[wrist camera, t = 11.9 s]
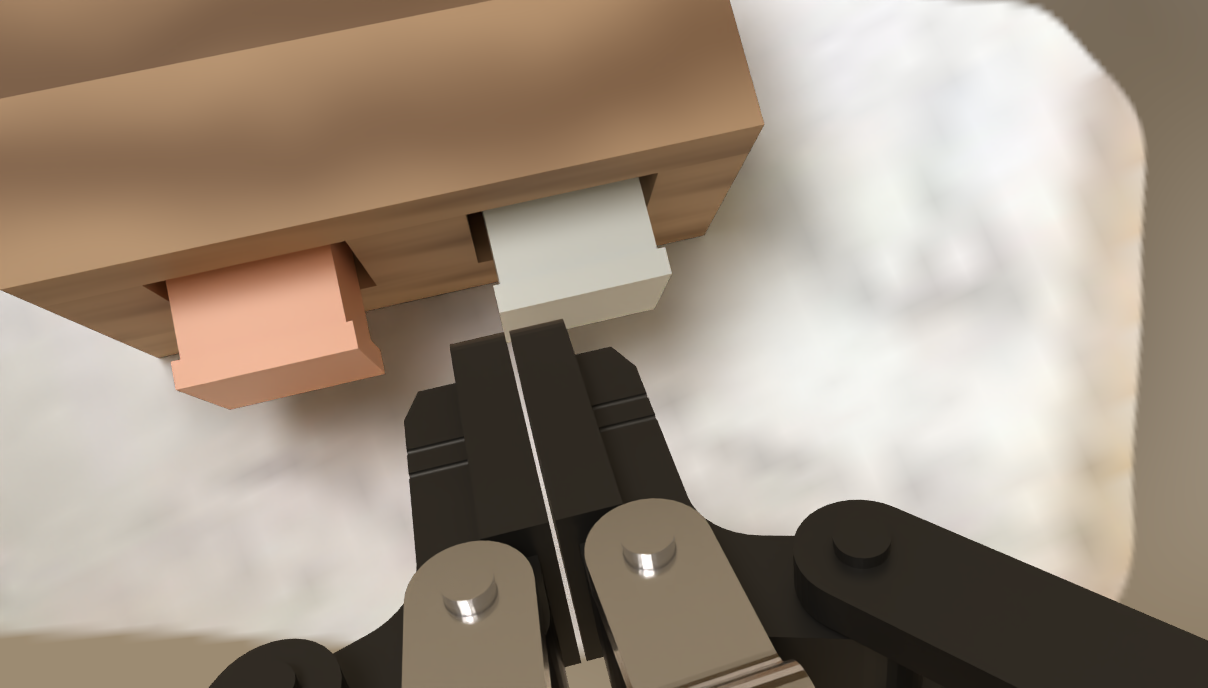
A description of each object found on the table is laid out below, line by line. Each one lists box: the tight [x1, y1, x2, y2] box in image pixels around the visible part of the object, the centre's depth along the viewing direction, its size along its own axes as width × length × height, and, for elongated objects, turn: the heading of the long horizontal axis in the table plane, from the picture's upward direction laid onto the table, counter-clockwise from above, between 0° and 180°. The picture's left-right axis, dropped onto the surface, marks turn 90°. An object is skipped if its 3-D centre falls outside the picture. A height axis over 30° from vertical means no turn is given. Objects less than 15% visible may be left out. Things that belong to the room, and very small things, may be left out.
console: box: [0, 0, 764, 358], centre depth 34 cm, size 10×20×11 cm, turn 104°
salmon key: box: [166, 241, 385, 410], centre depth 32 cm, size 7×5×5 cm
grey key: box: [482, 177, 672, 343], centre depth 33 cm, size 7×5×5 cm
